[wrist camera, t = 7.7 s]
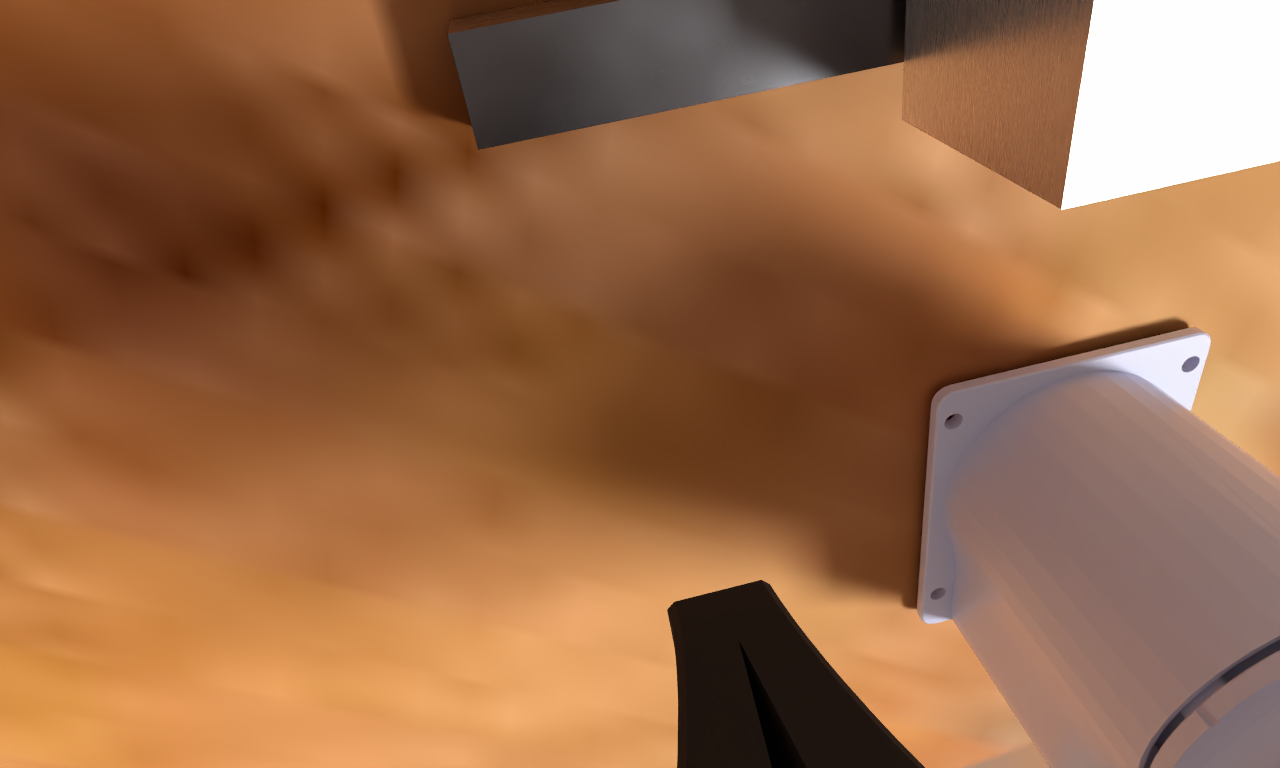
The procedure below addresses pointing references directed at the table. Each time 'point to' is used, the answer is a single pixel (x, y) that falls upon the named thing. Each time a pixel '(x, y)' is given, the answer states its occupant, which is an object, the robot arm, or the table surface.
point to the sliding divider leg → (1097, 89)
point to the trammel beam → (654, 56)
